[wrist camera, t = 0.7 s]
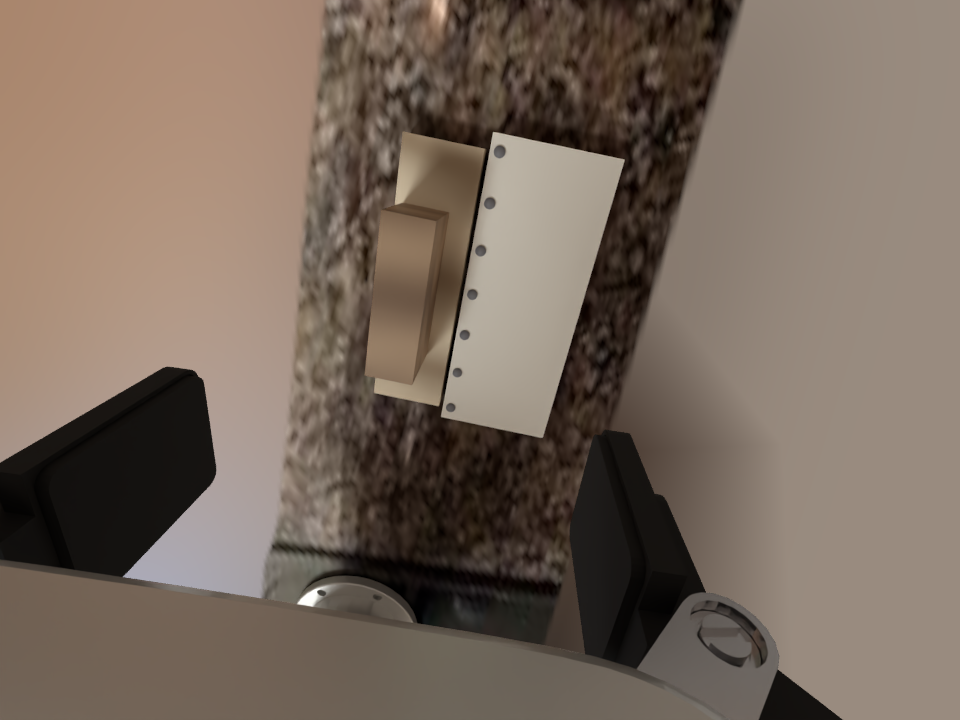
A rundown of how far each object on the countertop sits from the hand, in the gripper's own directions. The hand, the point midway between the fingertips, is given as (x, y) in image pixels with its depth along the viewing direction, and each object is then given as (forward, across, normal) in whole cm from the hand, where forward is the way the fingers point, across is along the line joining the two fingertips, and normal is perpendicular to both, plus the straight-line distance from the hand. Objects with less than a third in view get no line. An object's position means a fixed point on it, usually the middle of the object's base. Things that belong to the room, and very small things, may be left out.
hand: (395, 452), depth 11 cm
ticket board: (+23, -3, +2) cm, 23 cm away
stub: (+22, +3, +2) cm, 23 cm away
